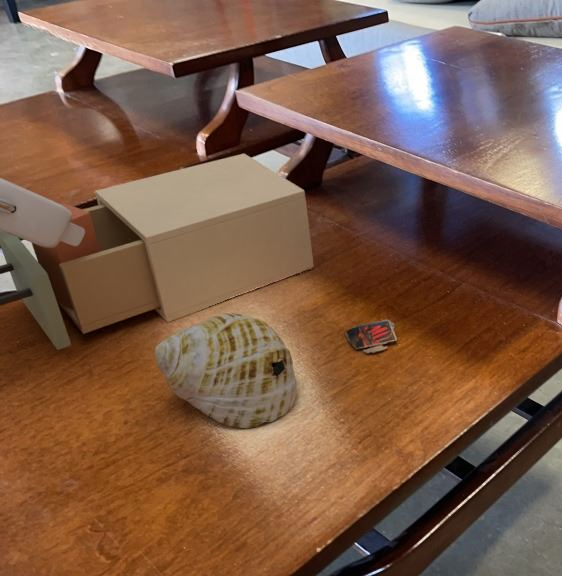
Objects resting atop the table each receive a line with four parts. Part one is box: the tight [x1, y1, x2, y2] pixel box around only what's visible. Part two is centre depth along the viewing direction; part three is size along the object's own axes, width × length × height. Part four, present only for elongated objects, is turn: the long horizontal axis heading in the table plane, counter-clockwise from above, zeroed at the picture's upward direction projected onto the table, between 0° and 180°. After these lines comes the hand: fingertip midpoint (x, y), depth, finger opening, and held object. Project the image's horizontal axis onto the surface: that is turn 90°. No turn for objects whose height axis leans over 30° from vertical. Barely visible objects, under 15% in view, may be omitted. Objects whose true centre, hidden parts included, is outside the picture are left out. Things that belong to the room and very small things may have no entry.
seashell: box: [154, 312, 298, 429], centre depth 64 cm, size 10×10×10 cm
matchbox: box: [344, 318, 398, 355], centre depth 74 cm, size 5×5×1 cm
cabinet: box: [94, 153, 315, 323], centre depth 82 cm, size 17×14×10 cm
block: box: [31, 202, 101, 310], centre depth 73 cm, size 4×4×9 cm
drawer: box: [0, 204, 161, 351], centre depth 74 cm, size 20×12×8 cm, turn 133°
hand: (45, 223), depth 70 cm, fingers open, 8 cm apart
